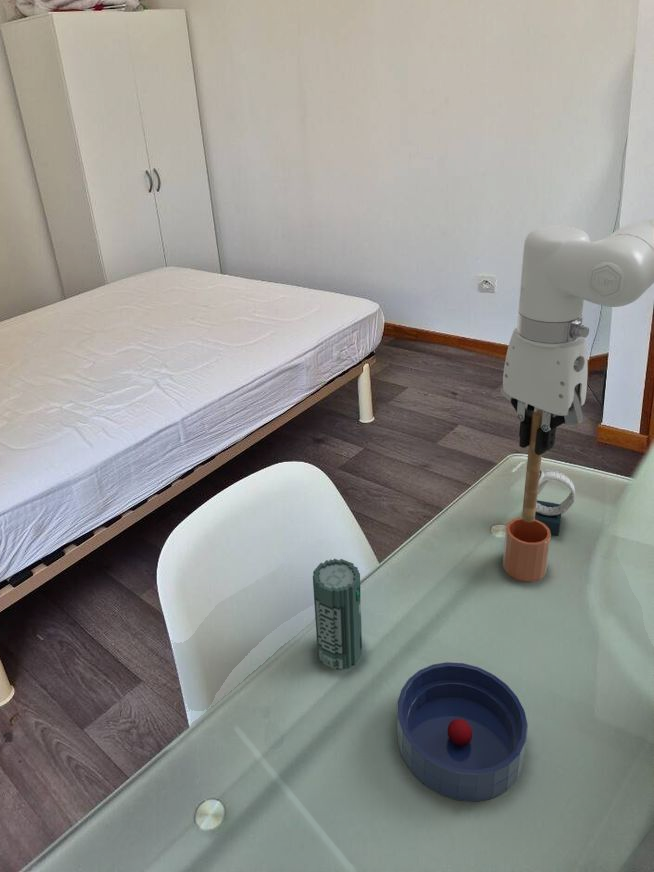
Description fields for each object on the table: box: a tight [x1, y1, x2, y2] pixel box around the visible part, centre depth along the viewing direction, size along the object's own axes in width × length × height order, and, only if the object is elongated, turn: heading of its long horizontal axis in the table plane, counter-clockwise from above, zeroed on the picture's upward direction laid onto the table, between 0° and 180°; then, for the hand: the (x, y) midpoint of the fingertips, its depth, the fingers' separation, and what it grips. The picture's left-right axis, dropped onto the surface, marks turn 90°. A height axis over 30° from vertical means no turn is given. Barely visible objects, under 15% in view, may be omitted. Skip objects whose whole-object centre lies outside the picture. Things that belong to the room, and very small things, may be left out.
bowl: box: [396, 661, 529, 803], centre depth 85 cm, size 15×15×6 cm
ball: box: [447, 719, 472, 746], centre depth 85 cm, size 3×3×3 cm
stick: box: [521, 408, 543, 522], centre depth 97 cm, size 2×2×18 cm
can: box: [312, 558, 363, 671], centre depth 96 cm, size 6×6×15 cm
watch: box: [535, 469, 576, 537], centre depth 119 cm, size 6×8×11 cm
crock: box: [502, 517, 552, 583], centre depth 110 cm, size 7×7×8 cm
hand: (535, 446), depth 96 cm, fingers closed on stick, 1 cm apart
